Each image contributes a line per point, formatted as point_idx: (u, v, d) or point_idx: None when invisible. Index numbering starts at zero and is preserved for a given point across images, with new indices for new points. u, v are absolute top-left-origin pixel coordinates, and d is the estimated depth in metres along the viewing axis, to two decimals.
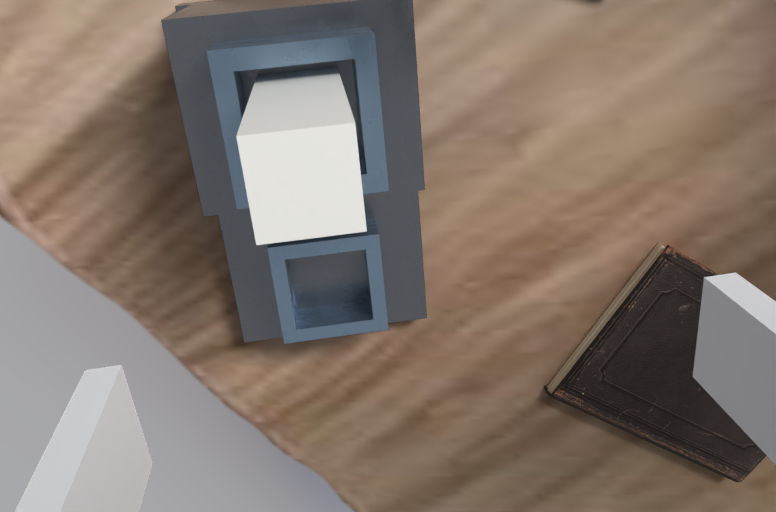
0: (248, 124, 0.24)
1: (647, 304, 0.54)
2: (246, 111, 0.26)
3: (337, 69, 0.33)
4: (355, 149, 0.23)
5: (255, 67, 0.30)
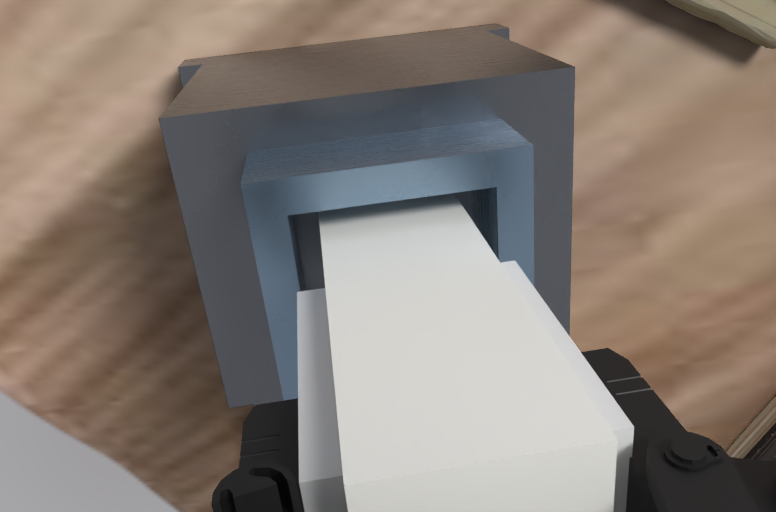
0: (356, 414, 0.11)
1: None
2: (334, 343, 0.13)
3: None
4: (608, 488, 0.10)
5: (325, 207, 0.17)
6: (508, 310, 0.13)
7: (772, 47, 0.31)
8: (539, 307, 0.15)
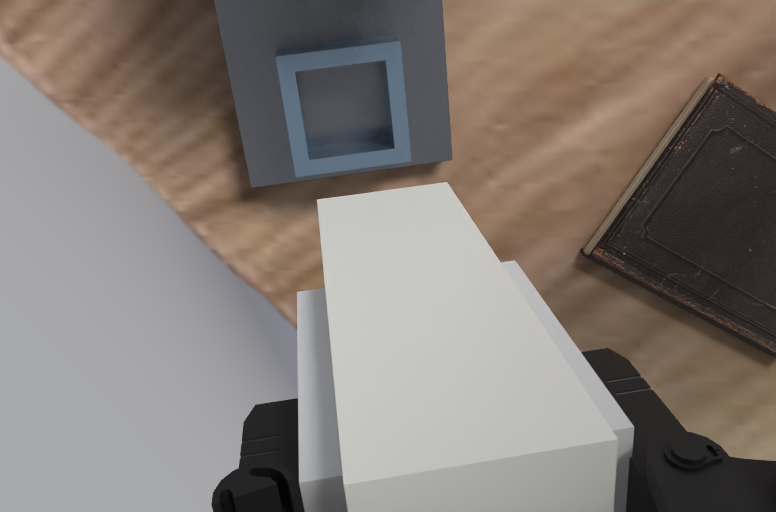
0: (355, 414, 0.11)
1: (695, 145, 0.49)
2: (334, 343, 0.13)
3: (451, 190, 0.20)
4: (608, 487, 0.10)
5: None
6: (508, 309, 0.13)
7: None
8: (539, 307, 0.15)
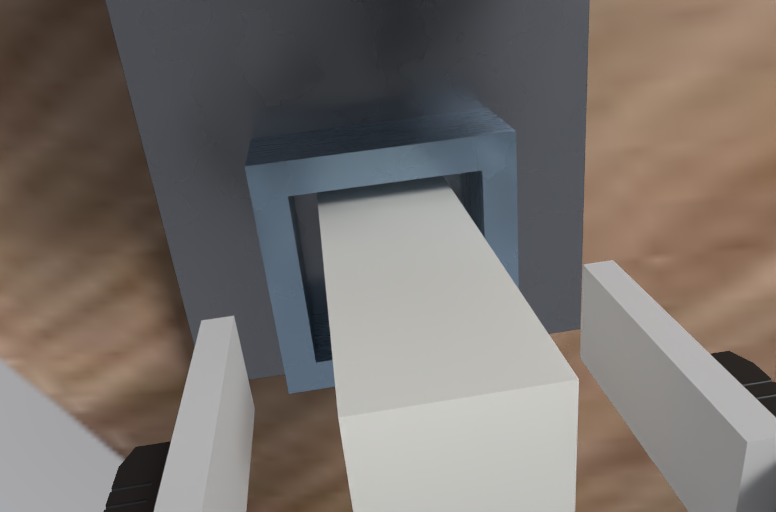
0: (349, 362, 0.12)
1: None
2: (331, 305, 0.14)
3: None
4: (572, 424, 0.11)
5: None
6: (489, 276, 0.15)
7: None
8: (653, 308, 0.14)
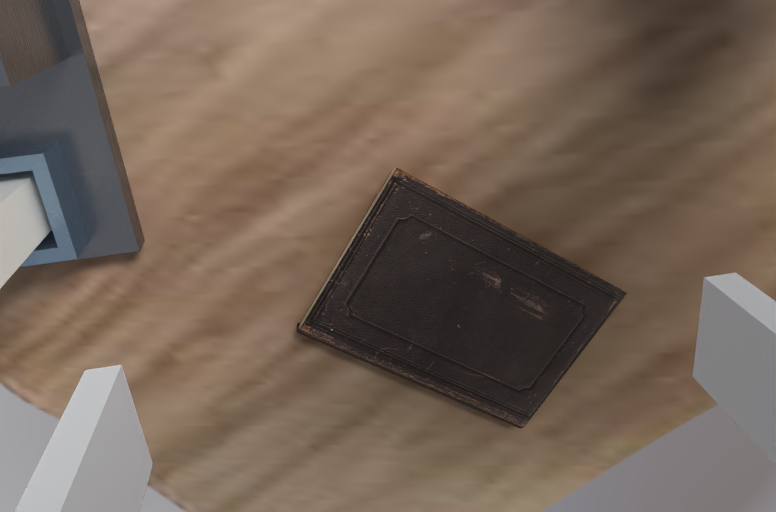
0: None
1: (384, 232, 0.52)
2: None
3: None
4: None
5: None
6: None
7: None
8: None
